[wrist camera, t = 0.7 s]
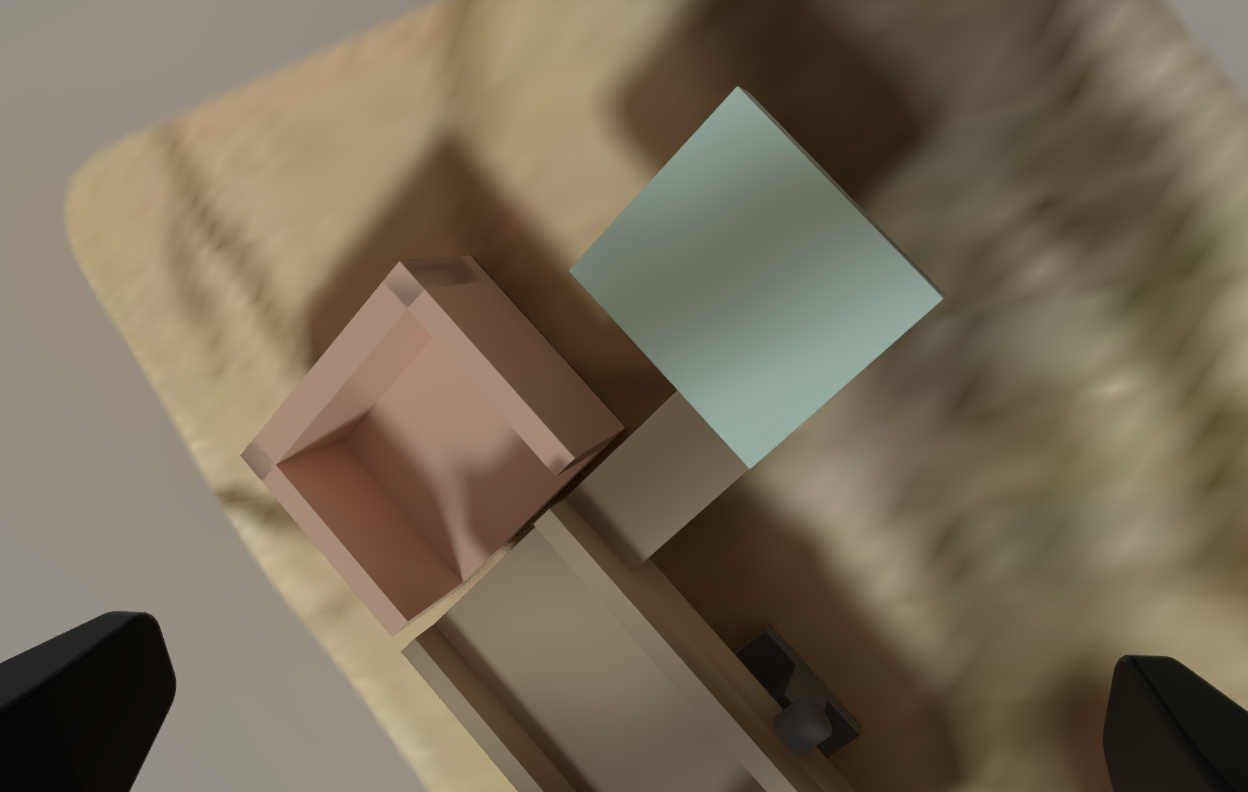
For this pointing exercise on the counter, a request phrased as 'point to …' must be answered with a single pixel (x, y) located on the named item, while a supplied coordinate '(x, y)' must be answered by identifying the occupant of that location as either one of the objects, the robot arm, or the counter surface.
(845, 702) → the counter surface
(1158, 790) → the robot arm
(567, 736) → the lever
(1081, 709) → the counter surface
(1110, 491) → the counter surface
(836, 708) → the fulcrum
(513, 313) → the dish
